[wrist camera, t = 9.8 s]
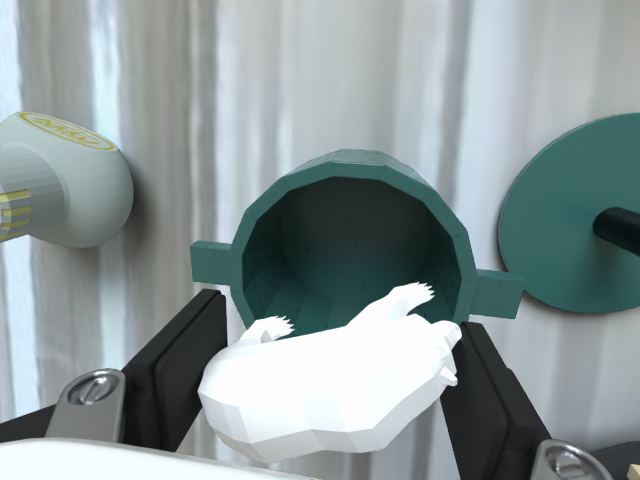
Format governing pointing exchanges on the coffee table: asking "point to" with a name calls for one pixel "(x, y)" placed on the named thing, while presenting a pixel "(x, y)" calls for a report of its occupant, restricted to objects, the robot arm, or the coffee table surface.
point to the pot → (351, 249)
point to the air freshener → (61, 182)
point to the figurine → (329, 381)
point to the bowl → (621, 460)
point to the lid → (579, 219)
